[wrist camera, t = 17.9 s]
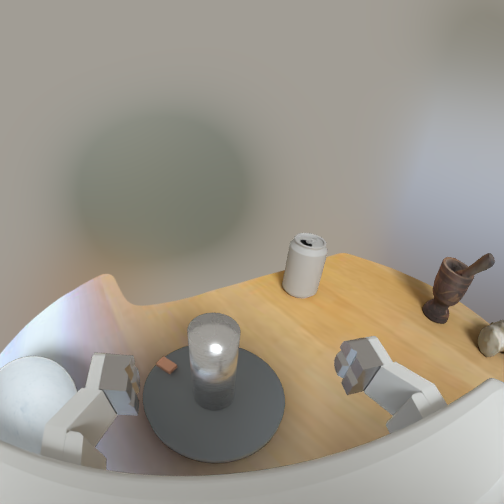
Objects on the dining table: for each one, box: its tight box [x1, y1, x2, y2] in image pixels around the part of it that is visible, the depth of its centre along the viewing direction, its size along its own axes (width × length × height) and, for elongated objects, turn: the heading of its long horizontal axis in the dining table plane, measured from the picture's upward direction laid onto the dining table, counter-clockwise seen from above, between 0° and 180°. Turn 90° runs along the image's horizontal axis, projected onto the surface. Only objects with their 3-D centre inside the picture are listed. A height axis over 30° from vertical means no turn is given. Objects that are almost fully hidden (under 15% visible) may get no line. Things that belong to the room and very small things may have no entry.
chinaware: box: [0, 356, 78, 454], centre depth 21 cm, size 15×15×8 cm
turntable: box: [143, 346, 285, 463], centre depth 32 cm, size 18×18×3 cm
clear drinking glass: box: [187, 313, 240, 411], centre depth 28 cm, size 5×5×12 cm
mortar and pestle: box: [423, 253, 495, 323], centre depth 47 cm, size 12×9×20 cm
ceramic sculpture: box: [478, 320, 504, 357], centre depth 40 cm, size 11×9×15 cm
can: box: [282, 233, 328, 298], centre depth 55 cm, size 8×8×12 cm
